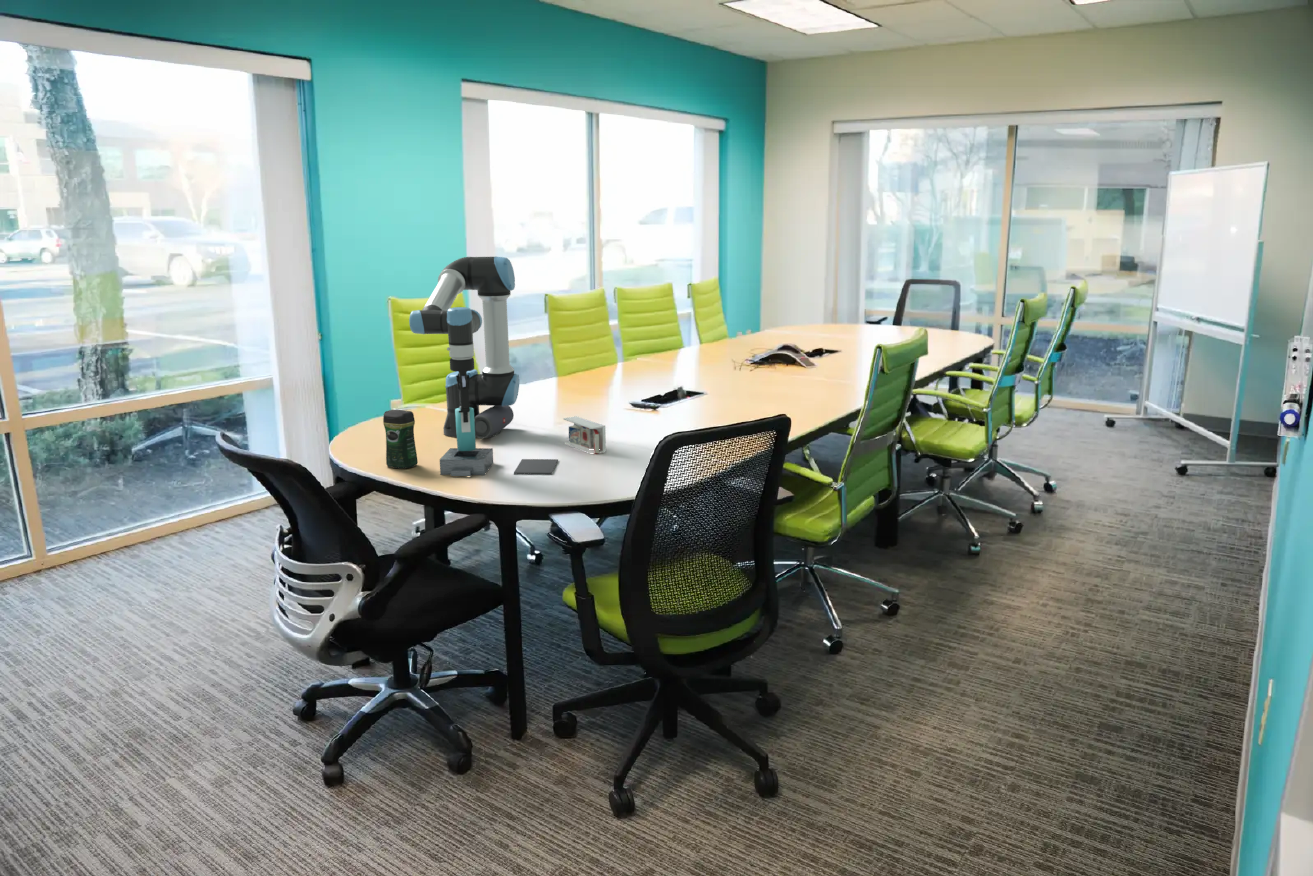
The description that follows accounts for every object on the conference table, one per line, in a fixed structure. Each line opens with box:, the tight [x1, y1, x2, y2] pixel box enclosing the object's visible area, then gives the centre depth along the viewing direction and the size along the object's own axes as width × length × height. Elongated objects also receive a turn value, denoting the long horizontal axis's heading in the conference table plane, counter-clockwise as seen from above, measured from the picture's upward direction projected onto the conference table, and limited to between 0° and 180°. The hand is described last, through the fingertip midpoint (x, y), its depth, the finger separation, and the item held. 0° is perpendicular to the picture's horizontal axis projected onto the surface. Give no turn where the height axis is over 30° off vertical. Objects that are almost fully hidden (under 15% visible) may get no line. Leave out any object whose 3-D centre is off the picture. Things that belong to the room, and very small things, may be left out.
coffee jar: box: [382, 409, 419, 469], centre depth 299 cm, size 10×8×19 cm
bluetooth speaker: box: [474, 405, 514, 439], centre depth 341 cm, size 23×9×10 cm, turn 168°
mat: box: [513, 458, 559, 476], centre depth 299 cm, size 16×12×1 cm
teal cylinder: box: [455, 406, 477, 451], centre depth 294 cm, size 6×6×14 cm
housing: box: [439, 447, 494, 477], centre depth 297 cm, size 19×14×5 cm
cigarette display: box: [562, 415, 607, 454], centre depth 322 cm, size 20×6×9 cm, turn 37°
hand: (465, 429), depth 295 cm, fingers closed on teal cylinder, 6 cm apart
